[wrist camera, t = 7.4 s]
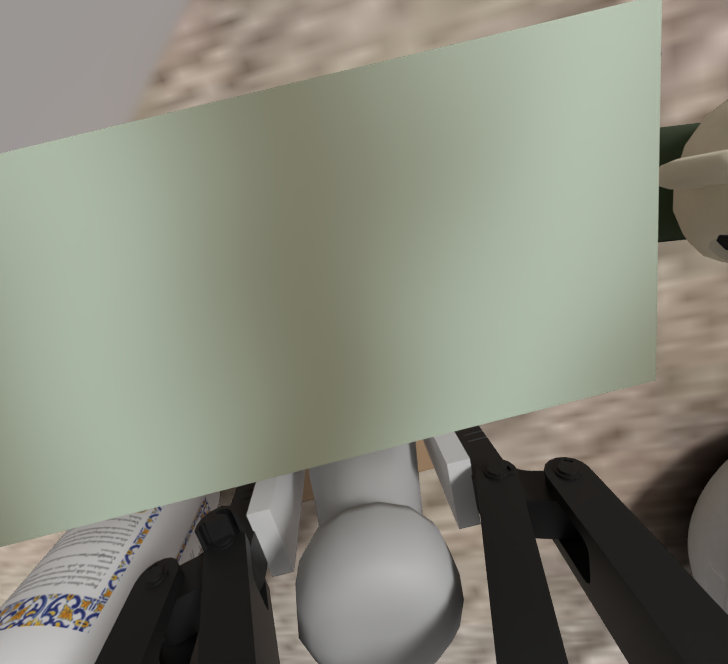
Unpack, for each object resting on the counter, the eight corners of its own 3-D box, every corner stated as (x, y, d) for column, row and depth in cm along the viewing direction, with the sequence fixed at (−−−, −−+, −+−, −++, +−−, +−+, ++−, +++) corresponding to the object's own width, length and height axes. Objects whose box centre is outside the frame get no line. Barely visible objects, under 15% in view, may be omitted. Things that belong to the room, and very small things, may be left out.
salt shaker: (314, 444, 21) (290, 747, 9) (290, 356, 20) (217, 582, 7) (410, 423, 22) (515, 694, 9) (394, 334, 20) (495, 519, 7)
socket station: (287, 465, 26) (211, 878, 10) (201, 222, 21) (-281, 220, 4) (450, 424, 26) (649, 762, 10) (404, 173, 21) (661, -6, 5)
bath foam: (96, 482, 25) (-683, 1338, 6) (172, 426, 24) (-432, 1192, 5) (170, 542, 27) (-229, 1330, 8) (242, 492, 26) (-2, 1226, 7)
